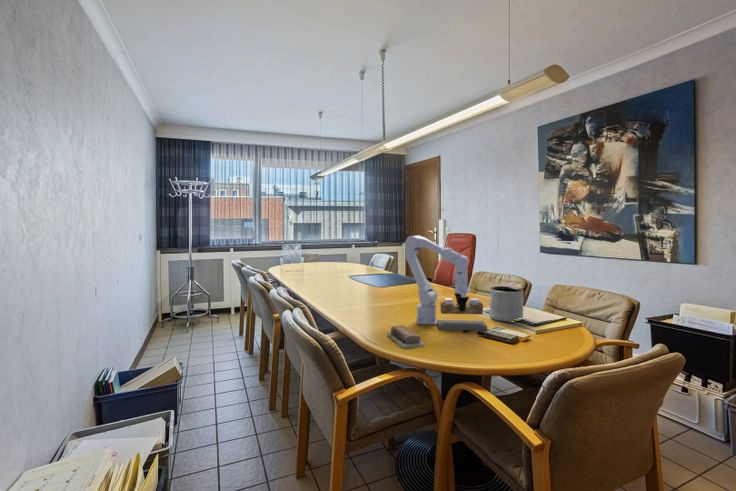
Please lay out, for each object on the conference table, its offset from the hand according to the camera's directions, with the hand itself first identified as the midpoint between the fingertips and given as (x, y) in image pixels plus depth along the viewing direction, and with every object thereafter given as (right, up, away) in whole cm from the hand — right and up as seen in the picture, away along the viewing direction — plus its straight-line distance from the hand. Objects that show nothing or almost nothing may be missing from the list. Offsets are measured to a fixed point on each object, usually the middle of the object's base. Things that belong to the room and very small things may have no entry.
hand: (461, 309), depth 175 cm
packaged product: (-28, -11, -18) cm, 35 cm away
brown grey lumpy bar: (0, -2, 0) cm, 2 cm away
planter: (+27, -8, +14) cm, 31 cm away
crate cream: (-6, +2, 0) cm, 6 cm away
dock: (0, -8, +1) cm, 8 cm away
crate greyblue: (+6, +2, -1) cm, 6 cm away
